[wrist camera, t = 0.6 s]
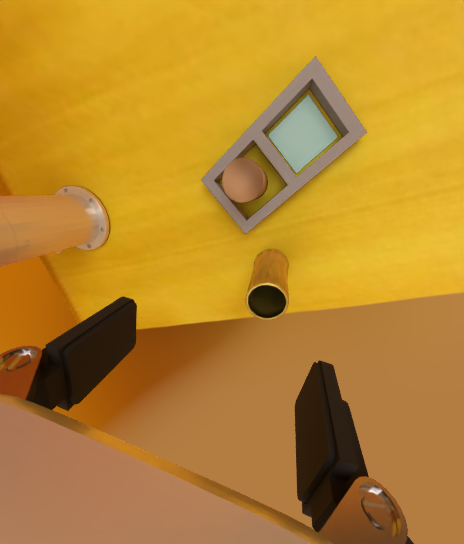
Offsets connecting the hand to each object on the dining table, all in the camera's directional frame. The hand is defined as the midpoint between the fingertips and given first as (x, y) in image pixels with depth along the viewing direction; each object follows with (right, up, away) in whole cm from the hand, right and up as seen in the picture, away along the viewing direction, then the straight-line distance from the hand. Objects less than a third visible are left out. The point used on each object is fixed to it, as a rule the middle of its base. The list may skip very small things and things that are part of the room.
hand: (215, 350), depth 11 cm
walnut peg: (+4, +18, +24) cm, 31 cm away
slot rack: (+8, +21, +22) cm, 32 cm away
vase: (+8, +5, +29) cm, 30 cm away
